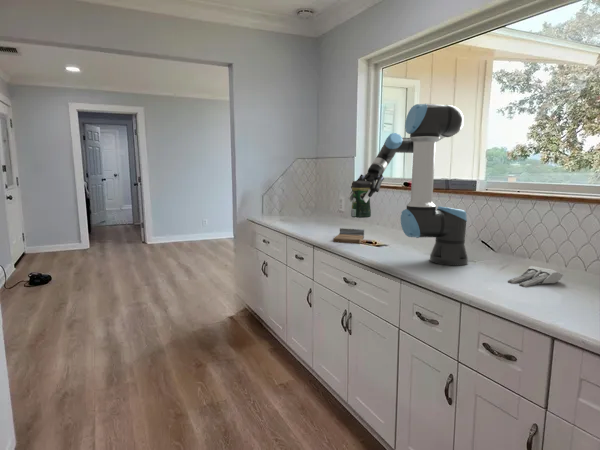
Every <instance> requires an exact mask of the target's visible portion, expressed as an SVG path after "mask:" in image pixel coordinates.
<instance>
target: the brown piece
mask: <svg viewBox="0 0 600 450" xmlns="http://www.w3.org/2000/svg"><path fill="white" fill-rule="evenodd" d="M364 238H365V228H363V229H360V228H345V227H344V228H343V227H342V228H341V227H340V228H339V233H338V234H337V235H336V236H335V237H333V241H332V242H333V243H340V244H342V243H343V244H357V245H360V244H361V242H362V241H363V240H364Z"/></svg>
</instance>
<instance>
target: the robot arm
mask: <svg viewBox="0 0 600 450" xmlns="http://www.w3.org/2000/svg"><path fill="white" fill-rule="evenodd" d="M464 118H465V117H464V115H463V112H462V111H461V110H460V108H458V107H456V106H454V105H451V104H434V103H418V104H414V105H413V106H411V107H410V109H409V111H408V113H407V116H406V119H405V125H404V128H405V133H407V134H408V135H410V136H409V137H403V136H402V135H400V134H399V133H397V132H392V133H390V134H389V135H388V136H387V137H386V139H385V141H384V142H383V143H384V144H383V145H382V146H381V148H380V150H379V152H378V154H377V155H376V157H375V158H374V159H373V161H372V162H371V165H370V166H369V167H368V169H367V173H366V174H365V175H363V174H362V173H361V174H360V176H359V177H358V178H357V180H356V181H370V182H371V188H370V189H371V190H370V189H369V190H368V192H367V193H366V195H365V197H364V198H363V200H364V201H365V203H367V201H368V200H369V198H370V199H371V197H372V196H373V194H375V193H378V192H379V191H380V189H381V185H382V182H384V181H385V177H384V176H383V174H384V172H385V171H386V169H387V168H388V166H389V164H390V162H391V161H392V160H393V159H394V156H395V155H396V153H397V154H398V153H401V154H402V153H404V154H406V153H407V154H412V168H411V185H410V186H411V187H410V201H409V202H408V203H407V204H406V208H405V209H403V210H402V211H401V214H400V225H401V226H400V227H401V229H402V232H403V233H404V235H405V236H406V237H408V238H416V239H419V238H435V242H434V244H433V247H432V250H431V253H430V254H429V255H430V256H429V260H430V262H432V263H436V264H439V265H440V264H441V265H447V266H465V265H468V263H469V257H468V252H467V249H466V245H465V243H466V242H465V241H466V230H467V222H468V220H467V219H468V217H467V216H468V215H467V212H466V210H464V209H461V208H460V209H459V208H454V207H448V206H447V207H446V206H439V205H438V206H437V205H436V204H435V203H434V202H433V193H434V180H435V179H434V176H435V162H436V161H435V159H436V144H437V142H439V141H441V140H443V139H444V138H452V137H454V136H455V135H457V134H458V133H459V132H460V131H461V130H462V129H463V127H464V122H465V119H464ZM350 188H351V189H350V190H351V192H350V194H349V196H348V197H347V198H348V200H349V202H352V201H353V191H352V185H351V186H350Z"/></svg>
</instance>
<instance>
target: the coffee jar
mask: <svg viewBox="0 0 600 450" xmlns="http://www.w3.org/2000/svg"><path fill="white" fill-rule="evenodd" d="M351 184H352V185H351V186H352V189H351V192H352V191H353V200H352V203H351V211H350V216H351V217H352V218H358V219H367V218H371V216H372V212H371V211H372V210H371V197H370V198H369V200H368V201H367V203H365V201H364V200H363V198H364V197H365V195H366V193H367V192H368V190H369V189H370V188H371V182H370V181H366V180H365V181H357V180H354V181H352V183H351ZM370 190H371V189H370Z"/></svg>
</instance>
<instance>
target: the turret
mask: <svg viewBox="0 0 600 450" xmlns="http://www.w3.org/2000/svg"><path fill="white" fill-rule="evenodd" d="M563 276H564V275H563V274H562V273H561V272H558V271H556V270H555V269H552V268H545V267H540V266H534V265H530V266H529V267H528V268H527V269H526V270H525V271H523V273H522V274H521V275H519V276H516V277H514V278H513V277H512V278H511V279H508V280H507V283H511V285H512V284H517V283H519V282H521V283H519V285H518V286H519V287H523V288H527V287H530V286H532V285H545V284H557V282H559V281H561V279H562V278H563Z"/></svg>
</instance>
